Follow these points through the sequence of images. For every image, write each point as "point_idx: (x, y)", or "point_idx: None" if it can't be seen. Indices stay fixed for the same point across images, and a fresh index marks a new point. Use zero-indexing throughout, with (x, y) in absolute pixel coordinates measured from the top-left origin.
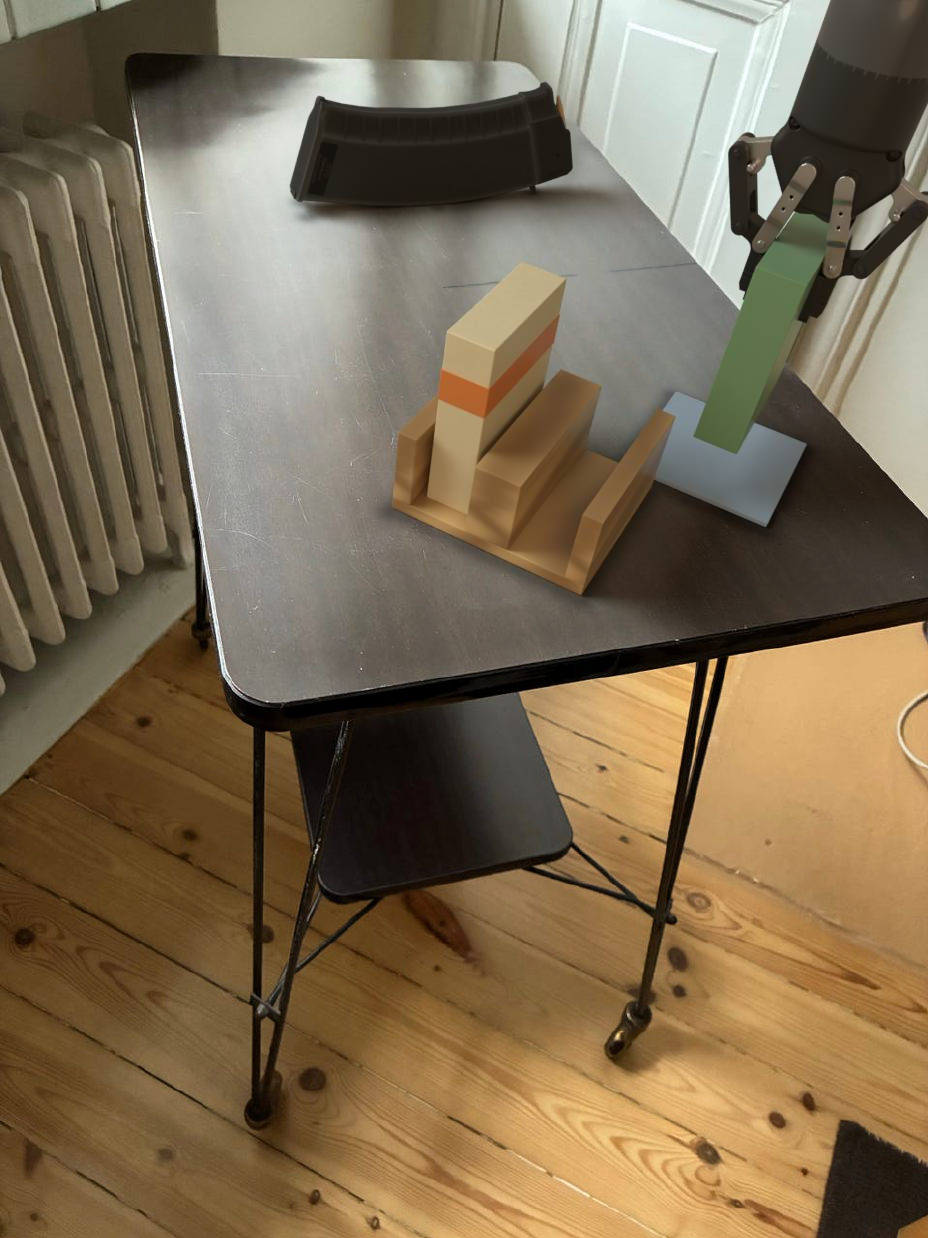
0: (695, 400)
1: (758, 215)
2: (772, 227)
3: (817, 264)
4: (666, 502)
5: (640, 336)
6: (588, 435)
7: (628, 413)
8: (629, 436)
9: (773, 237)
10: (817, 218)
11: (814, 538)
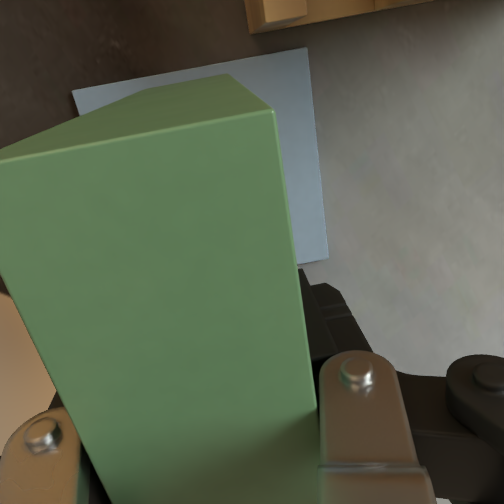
0: (298, 260)
1: (451, 492)
2: (363, 450)
3: (70, 398)
4: (213, 20)
5: (418, 325)
6: (384, 5)
7: (359, 170)
8: (334, 123)
9: (328, 416)
10: None
11: (12, 127)
